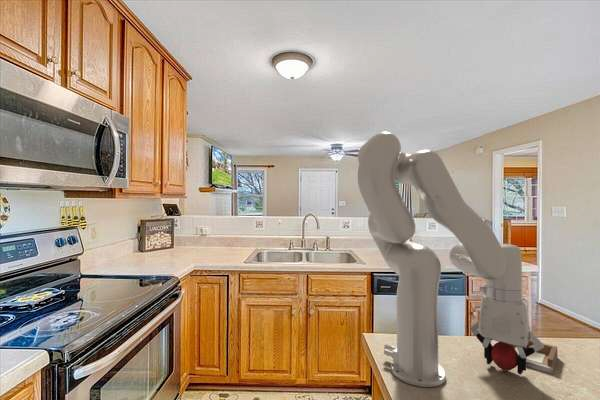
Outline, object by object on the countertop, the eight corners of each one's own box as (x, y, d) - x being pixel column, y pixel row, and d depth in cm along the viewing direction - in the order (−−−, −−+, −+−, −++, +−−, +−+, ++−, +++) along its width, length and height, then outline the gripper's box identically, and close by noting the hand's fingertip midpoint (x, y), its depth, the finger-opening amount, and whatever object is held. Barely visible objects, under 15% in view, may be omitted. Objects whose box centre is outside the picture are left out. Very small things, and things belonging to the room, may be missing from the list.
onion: (517, 380, 71) (516, 346, 71) (488, 371, 75) (488, 338, 75) (520, 370, 76) (520, 338, 76) (493, 362, 79) (493, 331, 80)
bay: (499, 358, 82) (499, 346, 82) (508, 344, 89) (508, 334, 89) (552, 374, 74) (552, 361, 74) (557, 357, 82) (557, 346, 82)
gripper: (461, 290, 79) (462, 360, 79) (545, 305, 67) (547, 388, 67) (470, 284, 84) (471, 350, 84) (550, 298, 72) (551, 374, 72)
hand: (504, 366), depth 75 cm, fingers closed on onion, 5 cm apart
